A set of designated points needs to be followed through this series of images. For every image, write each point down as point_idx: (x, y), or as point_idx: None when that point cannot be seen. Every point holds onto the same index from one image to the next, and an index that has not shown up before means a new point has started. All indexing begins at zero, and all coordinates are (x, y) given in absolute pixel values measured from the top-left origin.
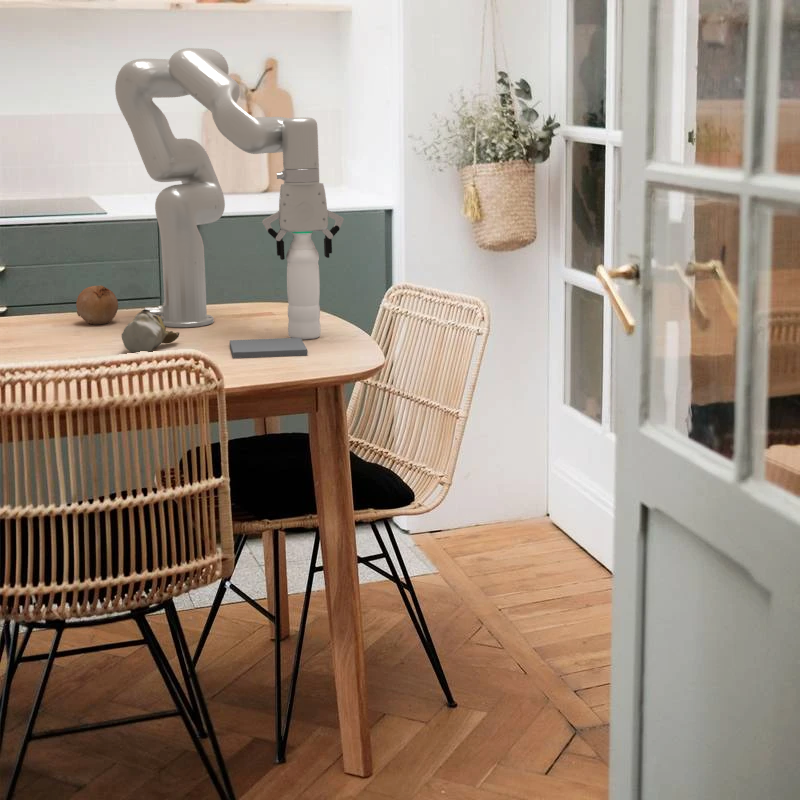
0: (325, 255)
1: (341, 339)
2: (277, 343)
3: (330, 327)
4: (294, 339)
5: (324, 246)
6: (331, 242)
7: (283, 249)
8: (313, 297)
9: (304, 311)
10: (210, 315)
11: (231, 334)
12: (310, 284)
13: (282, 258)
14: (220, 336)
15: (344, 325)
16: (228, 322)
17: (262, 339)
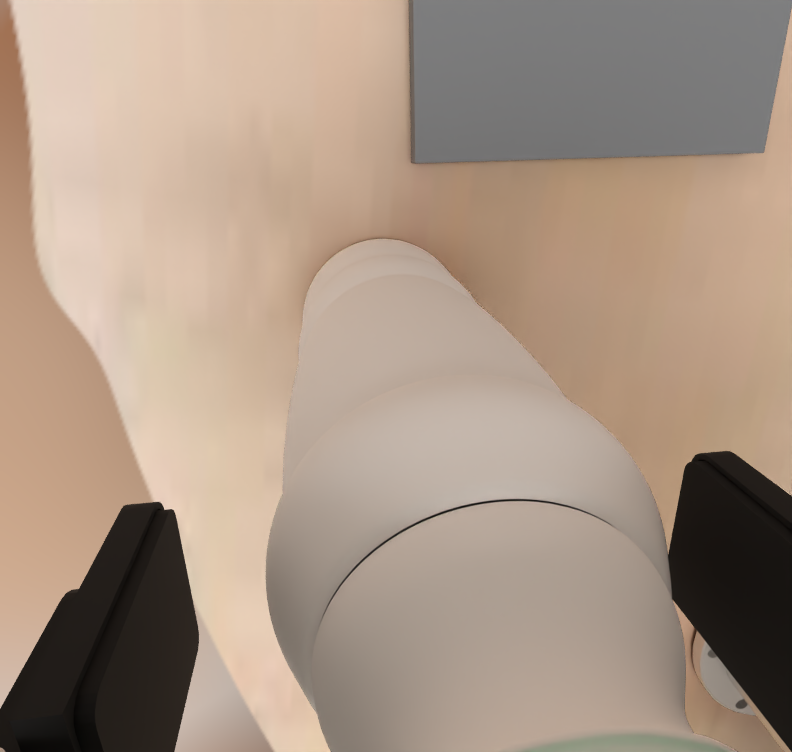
0: (179, 565)
1: (199, 230)
2: (555, 3)
3: (252, 516)
4: (452, 110)
5: (166, 719)
6: (2, 710)
7: (779, 527)
8: (342, 301)
9: (400, 262)
10: (705, 681)
11: (678, 415)
12: (370, 312)
13: (719, 452)
14: (729, 379)
15: (188, 552)
16: None
17: (610, 141)
